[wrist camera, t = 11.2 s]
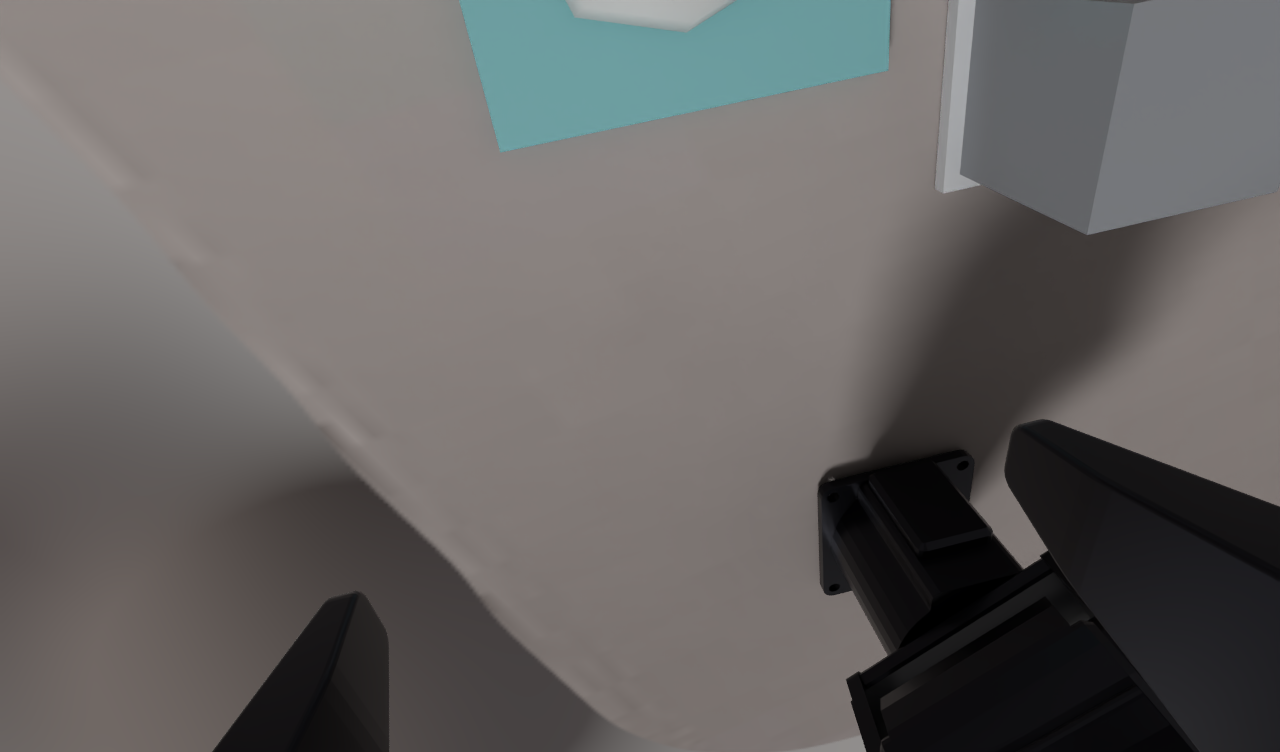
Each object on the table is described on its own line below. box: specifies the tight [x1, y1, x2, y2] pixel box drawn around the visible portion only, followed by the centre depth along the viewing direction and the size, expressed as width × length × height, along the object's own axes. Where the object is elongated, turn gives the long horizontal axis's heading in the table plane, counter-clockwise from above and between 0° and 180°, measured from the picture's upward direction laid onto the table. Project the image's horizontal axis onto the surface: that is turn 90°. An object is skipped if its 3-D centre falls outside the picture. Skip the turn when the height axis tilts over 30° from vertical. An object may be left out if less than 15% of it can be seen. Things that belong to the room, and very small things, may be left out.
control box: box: [935, 0, 1280, 235], centre depth 18 cm, size 6×6×6 cm
